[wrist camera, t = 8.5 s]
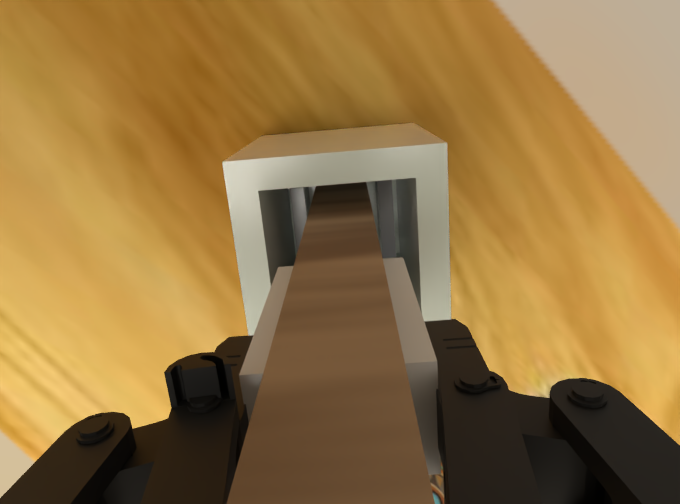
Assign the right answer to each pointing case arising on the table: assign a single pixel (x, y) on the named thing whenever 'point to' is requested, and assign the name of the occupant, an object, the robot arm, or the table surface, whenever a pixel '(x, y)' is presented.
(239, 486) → the brown wooden plank
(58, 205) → the table surface
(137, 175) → the table surface
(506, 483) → the robot arm
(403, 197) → the white square tube
